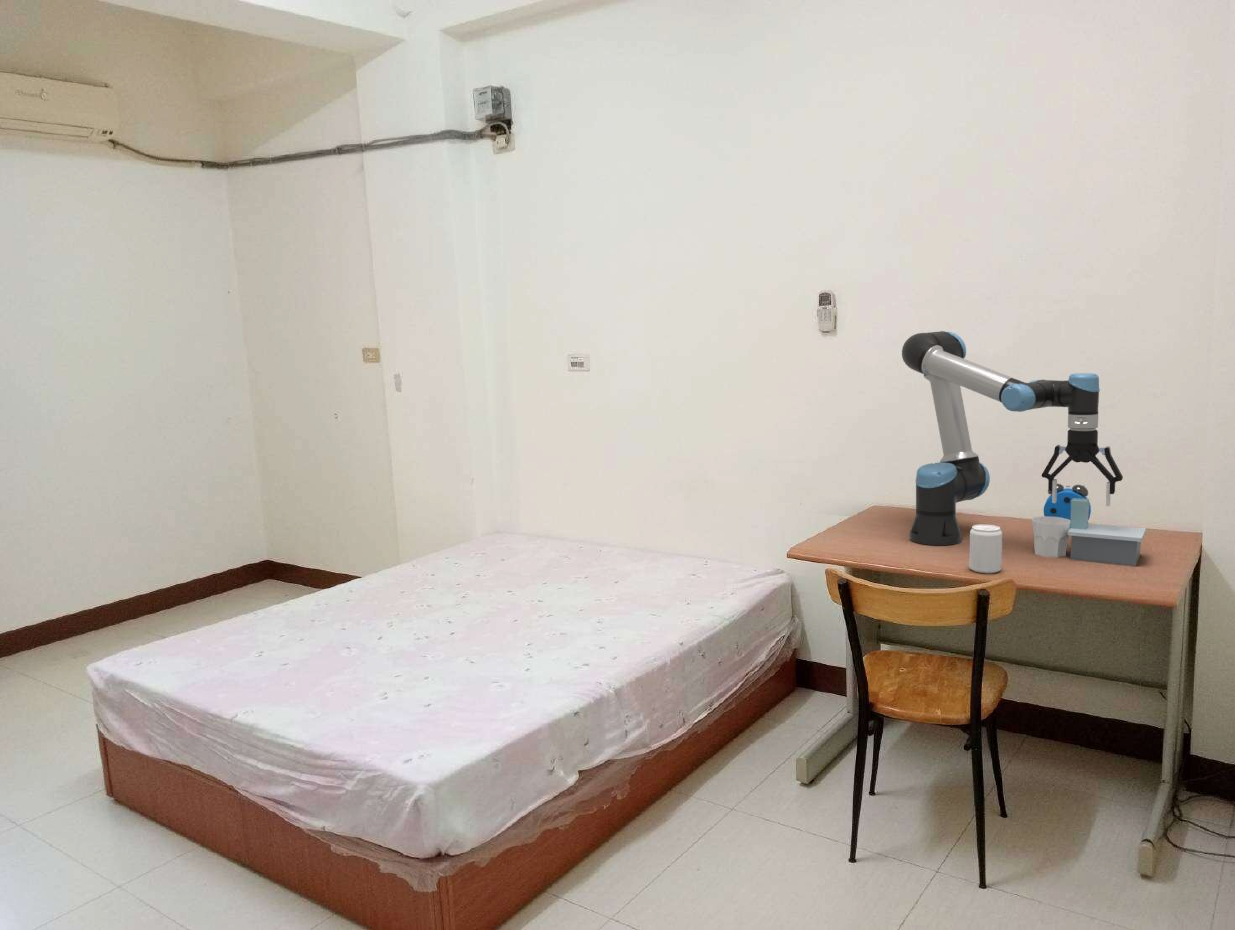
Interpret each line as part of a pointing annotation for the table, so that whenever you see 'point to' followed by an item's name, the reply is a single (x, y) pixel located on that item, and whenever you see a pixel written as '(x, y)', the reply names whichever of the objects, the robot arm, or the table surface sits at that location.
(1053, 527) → the cup
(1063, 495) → the alarm clock
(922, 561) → the table surface
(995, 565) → the beverage can
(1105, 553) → the tub
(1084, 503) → the pale blue stand
